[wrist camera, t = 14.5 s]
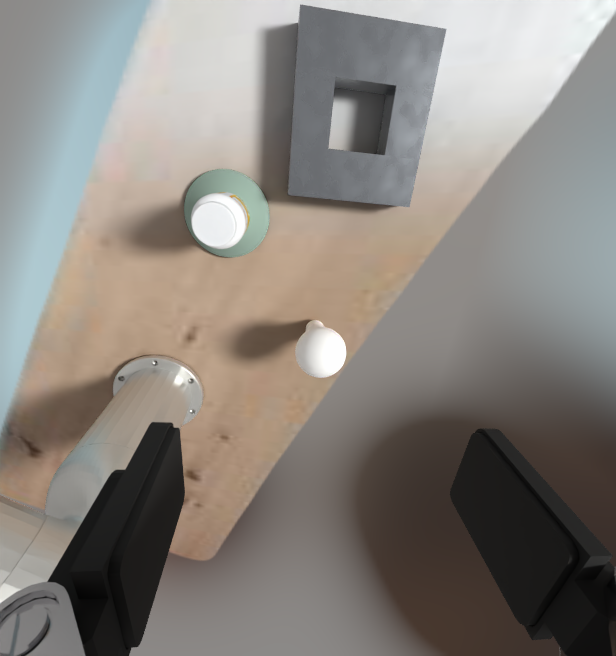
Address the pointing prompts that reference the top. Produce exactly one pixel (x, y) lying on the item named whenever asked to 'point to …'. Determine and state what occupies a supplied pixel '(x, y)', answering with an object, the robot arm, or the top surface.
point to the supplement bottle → (220, 219)
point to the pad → (242, 188)
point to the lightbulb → (320, 350)
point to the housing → (368, 76)
